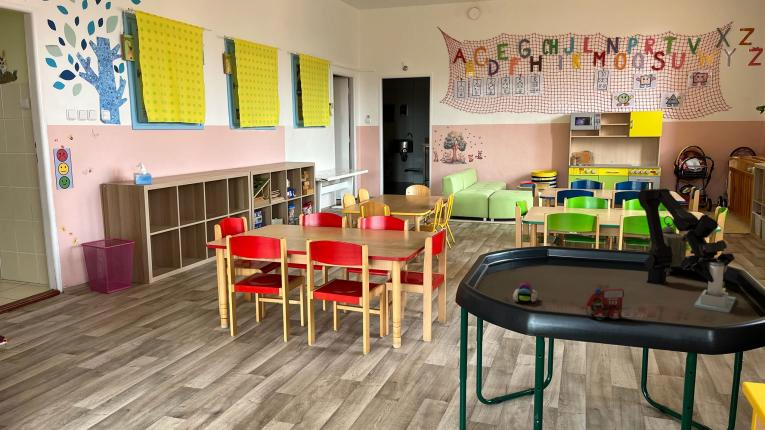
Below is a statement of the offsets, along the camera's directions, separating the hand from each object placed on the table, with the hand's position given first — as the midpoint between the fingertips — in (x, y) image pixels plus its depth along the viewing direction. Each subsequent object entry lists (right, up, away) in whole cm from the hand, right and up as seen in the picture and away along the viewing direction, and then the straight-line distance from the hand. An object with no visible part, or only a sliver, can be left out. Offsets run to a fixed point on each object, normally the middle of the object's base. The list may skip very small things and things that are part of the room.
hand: (718, 281), depth 214 cm
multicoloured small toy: (-66, -9, +13) cm, 68 cm away
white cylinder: (0, -6, +2) cm, 7 cm away
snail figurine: (+12, -6, +23) cm, 27 cm away
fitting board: (+2, -9, +5) cm, 10 cm away
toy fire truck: (-44, -12, -7) cm, 46 cm away
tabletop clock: (+5, -2, +49) cm, 50 cm away
